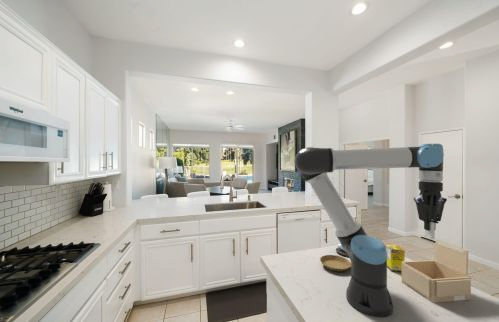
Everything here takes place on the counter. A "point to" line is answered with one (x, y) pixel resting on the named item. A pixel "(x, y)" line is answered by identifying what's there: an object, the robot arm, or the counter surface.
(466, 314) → the counter surface
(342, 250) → the brown slatted round stand
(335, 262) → the plant saucer
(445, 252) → the flap
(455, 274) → the carton
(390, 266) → the supplement box
